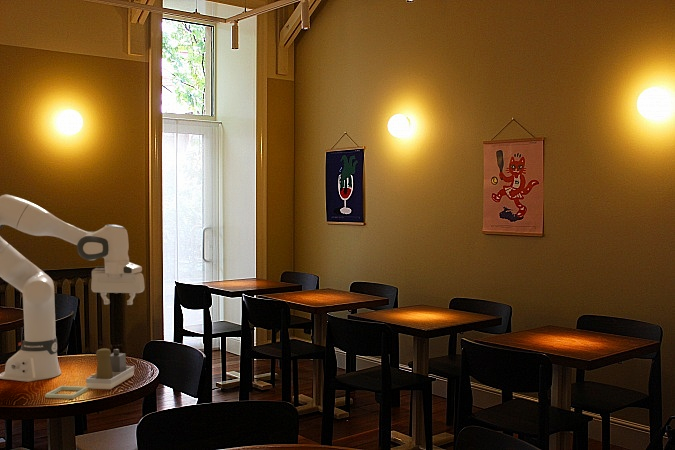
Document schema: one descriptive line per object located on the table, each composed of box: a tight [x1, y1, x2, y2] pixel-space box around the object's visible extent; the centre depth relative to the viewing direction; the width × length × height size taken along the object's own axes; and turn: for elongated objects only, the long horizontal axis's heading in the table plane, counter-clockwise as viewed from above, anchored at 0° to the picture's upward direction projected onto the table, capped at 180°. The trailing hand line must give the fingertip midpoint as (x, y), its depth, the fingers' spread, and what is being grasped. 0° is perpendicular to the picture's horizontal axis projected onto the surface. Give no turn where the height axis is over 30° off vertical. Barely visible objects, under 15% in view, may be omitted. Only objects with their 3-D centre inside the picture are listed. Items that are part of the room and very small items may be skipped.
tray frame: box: [44, 385, 89, 400], centre depth 252 cm, size 10×10×1 cm
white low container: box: [85, 365, 135, 390], centre depth 268 cm, size 10×19×4 cm, turn 171°
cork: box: [95, 348, 113, 379], centre depth 263 cm, size 6×6×11 cm
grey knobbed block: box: [109, 348, 127, 372], centre depth 272 cm, size 5×5×9 cm
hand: (118, 304), depth 270 cm, fingers open, 8 cm apart
